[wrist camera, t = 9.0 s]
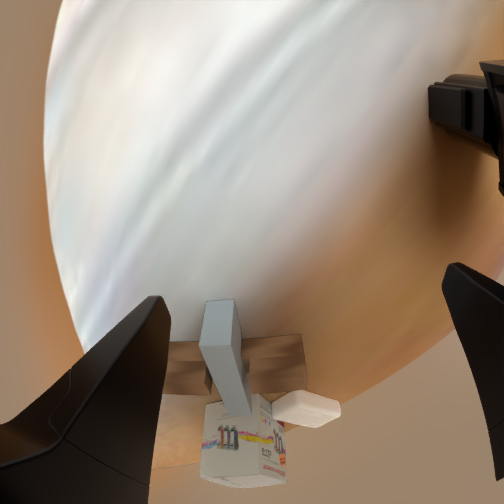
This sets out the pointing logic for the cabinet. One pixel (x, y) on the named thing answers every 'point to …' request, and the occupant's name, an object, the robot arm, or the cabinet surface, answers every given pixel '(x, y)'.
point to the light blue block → (226, 356)
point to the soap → (305, 409)
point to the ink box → (243, 446)
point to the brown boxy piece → (254, 360)
